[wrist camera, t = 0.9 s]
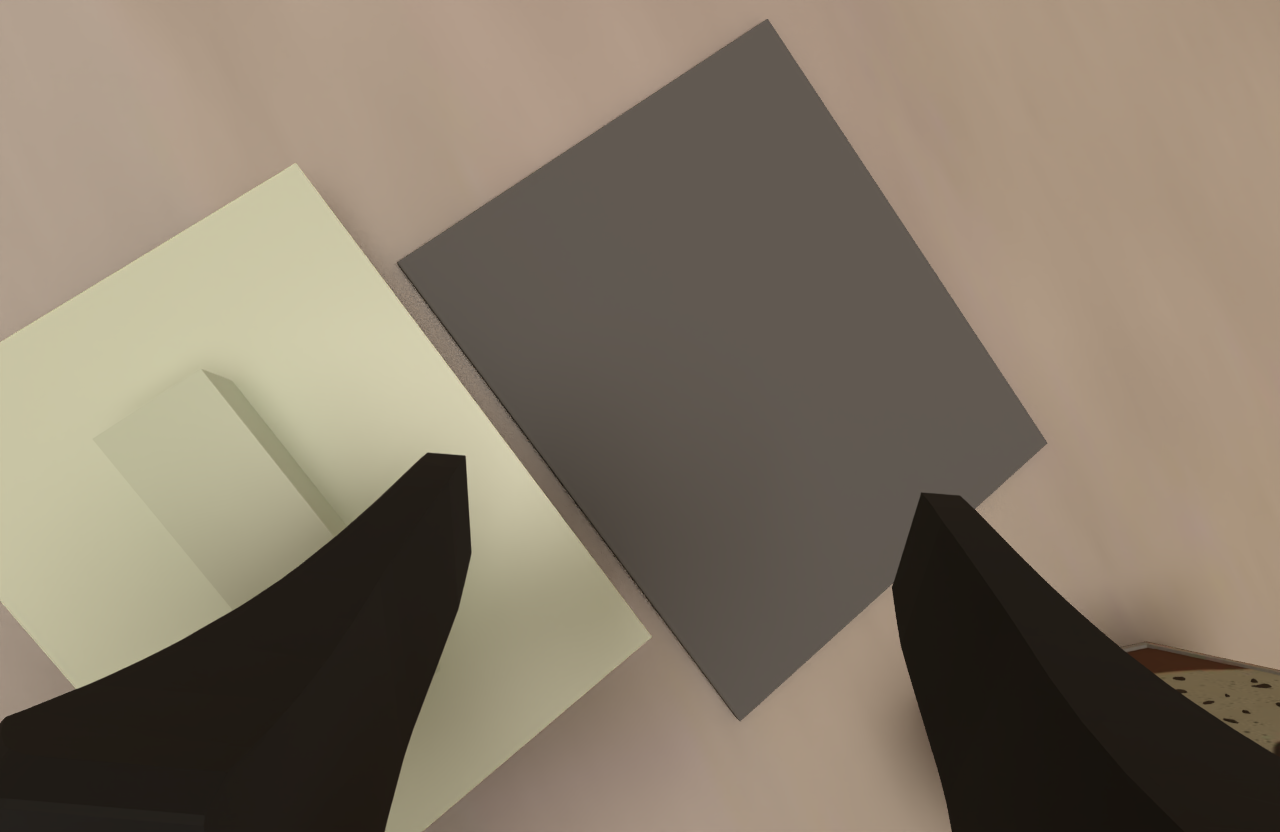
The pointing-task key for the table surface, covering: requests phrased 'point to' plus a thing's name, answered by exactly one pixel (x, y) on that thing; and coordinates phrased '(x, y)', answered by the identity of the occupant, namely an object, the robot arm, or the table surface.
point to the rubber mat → (729, 359)
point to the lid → (277, 476)
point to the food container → (1221, 688)
